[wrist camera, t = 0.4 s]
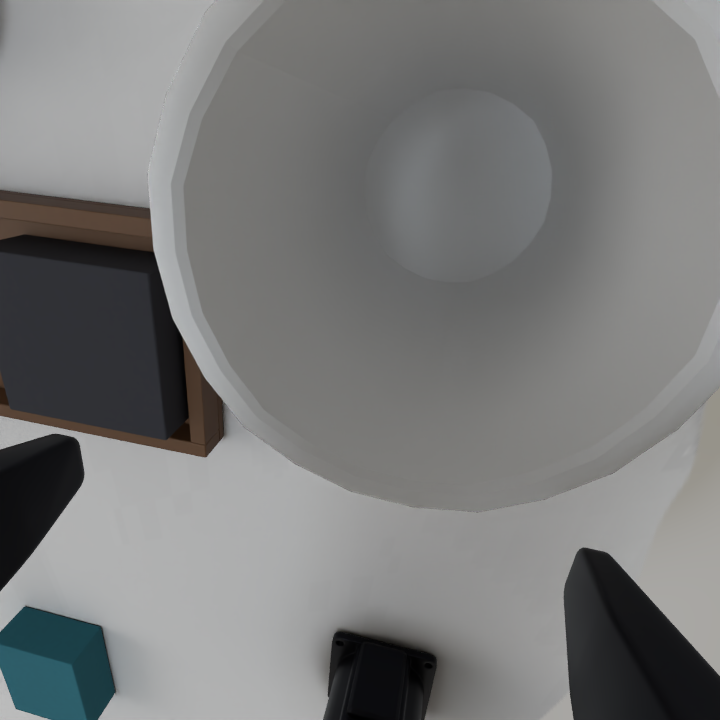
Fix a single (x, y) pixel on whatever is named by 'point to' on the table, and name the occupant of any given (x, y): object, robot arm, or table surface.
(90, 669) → the teal pad
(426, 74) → the cup
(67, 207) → the backing tray
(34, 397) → the charcoal pad
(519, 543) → the table surface
